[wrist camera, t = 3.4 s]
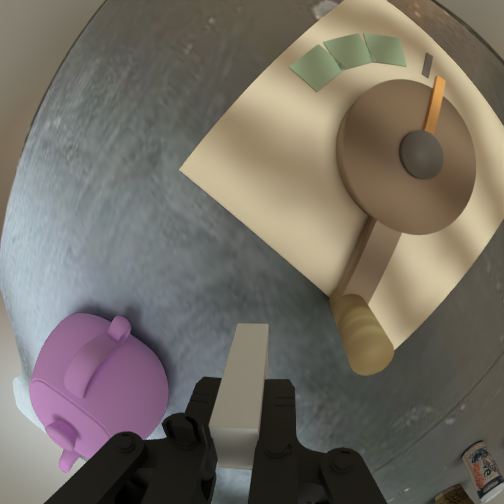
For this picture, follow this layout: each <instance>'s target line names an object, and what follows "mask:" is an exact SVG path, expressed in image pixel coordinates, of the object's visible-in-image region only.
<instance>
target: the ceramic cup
mask: <svg viewBox="0 0 504 504" xmlns="http://www.w3.org/2000/svg"><path fill="white" fill-rule="evenodd" d="M435 504H474V502H473V501H472V500H471V499H470V498H469V496H468V495H467V493H466V492H465V491H464V489H463V488H462V486H461V485H460V484H459V485H455V486H452V487H450V488H449V489H447V490H445V491H443V492H441V493H440V494H439V495H438V496H436V497H435Z"/></svg>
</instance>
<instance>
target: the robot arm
mask: <svg viewBox="0 0 504 504" xmlns="http://www.w3.org/2000/svg"><path fill="white" fill-rule="evenodd" d="M268 368H269V349H268V324H244V323H238V324H237V327H236V331H235V335H234V338H233V342H232V345H231V349H230V352H229V356H228V359H227V363H226V366H225V370H224V373H223V377H222V378H215V377H203V378H202V379H201V380H200V381H199V382H198V383H196V385H195V388H194V390H193V394H192V395H191V398H190V402H189V403H188V406H187V408H186V411H185V413H176V414H172V415H170V416H169V417H167V418H165V420H164V421H163V422H162V426H163V429H164V431H165V434H166V436H167V437H166V438H163V439H153V440H142V438H141V437H140V436H139V435H138V434H136V433H134V432H130V431H123V432H120V433H117V434H115V435H114V436H112V437H111V438H110V439H109V440H108V441H107V442H106V443H105V444H104V445H103V446H102V447H101V448H100V449H99V450H98V451H97V452H96V453H95V454H94V455H93V456H92V457H91V458H90V459H89V460H88V461H87V462H86V463H85V464H84V465H83V466H82V467H81V468H80V469H79V470H78V471H77V472H76V473H75V474H74V475H73V476H72V477H71V478H70V479H69V480H68V481H67V482H66V483H65V484H64V485H63V486H62V487H61V488H60V489H59V490H58V491H57V492H55V494H53V495H52V497H50V498H49V499H48V500H47V501H46V502H45V503H44V504H211V501H212V496H213V492H214V487H215V483H216V472H215V469H216V465H217V462H218V466H219V467H225V468H236V469H249V470H252V476H251V483H250V491H249V498H248V504H387V502H386V500H385V499H384V497H383V495H382V493H381V491H380V489H379V488H378V486H377V484H376V482H375V480H374V478H373V477H372V475H371V473H370V471H369V469H368V467H367V466H366V464H365V462H364V460H363V458H362V457H361V456H360V454H359V453H358V452H356V451H354V450H352V449H349V448H336V449H333V450H331V451H329V452H327V453H321V452H316V451H313V450H309V449H307V448H305V447H304V446H302V445H301V444H300V443H299V441H298V439H297V435H296V410H295V387H294V386H293V384H292V383H291V381H290V380H289V379H268Z"/></svg>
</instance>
